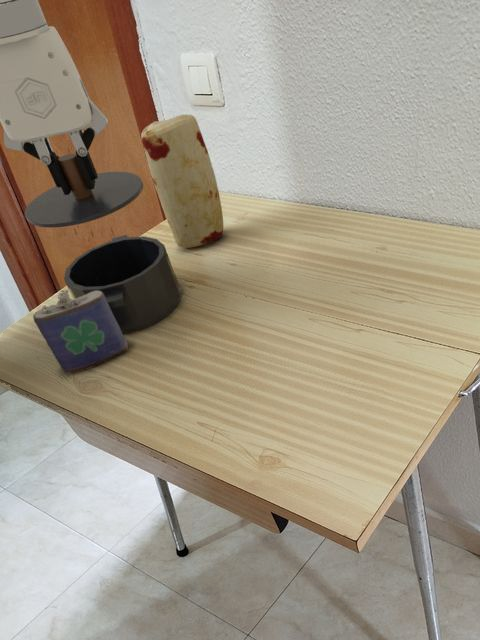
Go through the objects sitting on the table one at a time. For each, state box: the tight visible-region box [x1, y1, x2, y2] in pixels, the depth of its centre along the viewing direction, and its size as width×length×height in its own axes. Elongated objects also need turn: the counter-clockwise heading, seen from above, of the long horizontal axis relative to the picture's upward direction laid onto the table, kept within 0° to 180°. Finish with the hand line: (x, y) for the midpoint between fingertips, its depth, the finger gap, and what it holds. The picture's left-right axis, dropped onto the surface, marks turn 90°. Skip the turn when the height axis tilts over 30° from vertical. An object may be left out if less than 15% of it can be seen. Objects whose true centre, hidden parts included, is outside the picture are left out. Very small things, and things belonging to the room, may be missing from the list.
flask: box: [32, 289, 129, 375], centre depth 77 cm, size 9×3×11 cm, turn 114°
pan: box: [63, 234, 182, 335], centre depth 87 cm, size 15×20×8 cm
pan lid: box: [24, 153, 144, 229], centre depth 76 cm, size 16×16×6 cm
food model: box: [140, 114, 225, 249], centre depth 95 cm, size 10×7×20 cm
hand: (80, 187), depth 77 cm, fingers closed on pan lid, 2 cm apart
